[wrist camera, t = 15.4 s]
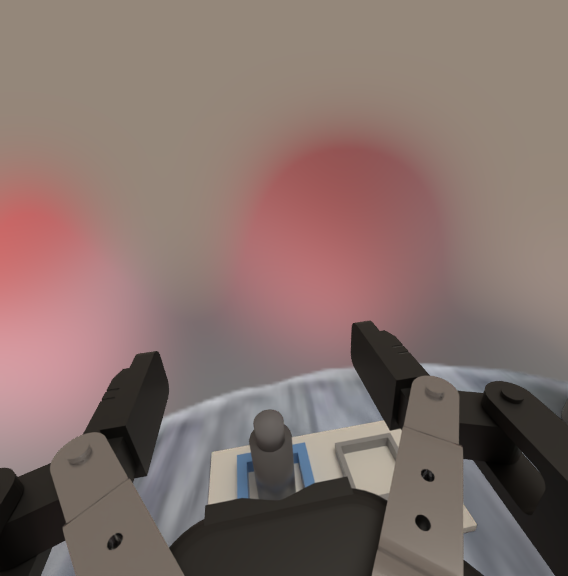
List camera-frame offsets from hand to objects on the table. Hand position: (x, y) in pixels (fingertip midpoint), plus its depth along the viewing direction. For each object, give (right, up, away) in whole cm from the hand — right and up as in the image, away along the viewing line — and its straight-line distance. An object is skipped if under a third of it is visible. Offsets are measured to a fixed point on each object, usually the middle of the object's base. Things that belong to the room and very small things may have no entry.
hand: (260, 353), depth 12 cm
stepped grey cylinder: (0, -21, +22) cm, 31 cm away
